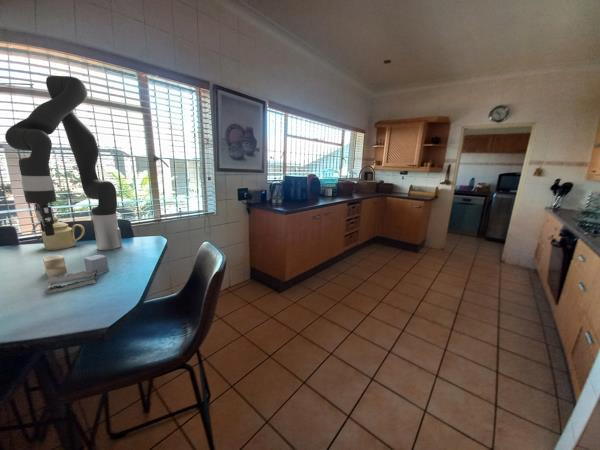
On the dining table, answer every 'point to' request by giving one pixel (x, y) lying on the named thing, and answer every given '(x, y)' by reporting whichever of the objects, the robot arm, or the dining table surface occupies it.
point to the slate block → (96, 263)
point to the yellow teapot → (61, 236)
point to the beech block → (54, 265)
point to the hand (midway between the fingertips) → (48, 233)
